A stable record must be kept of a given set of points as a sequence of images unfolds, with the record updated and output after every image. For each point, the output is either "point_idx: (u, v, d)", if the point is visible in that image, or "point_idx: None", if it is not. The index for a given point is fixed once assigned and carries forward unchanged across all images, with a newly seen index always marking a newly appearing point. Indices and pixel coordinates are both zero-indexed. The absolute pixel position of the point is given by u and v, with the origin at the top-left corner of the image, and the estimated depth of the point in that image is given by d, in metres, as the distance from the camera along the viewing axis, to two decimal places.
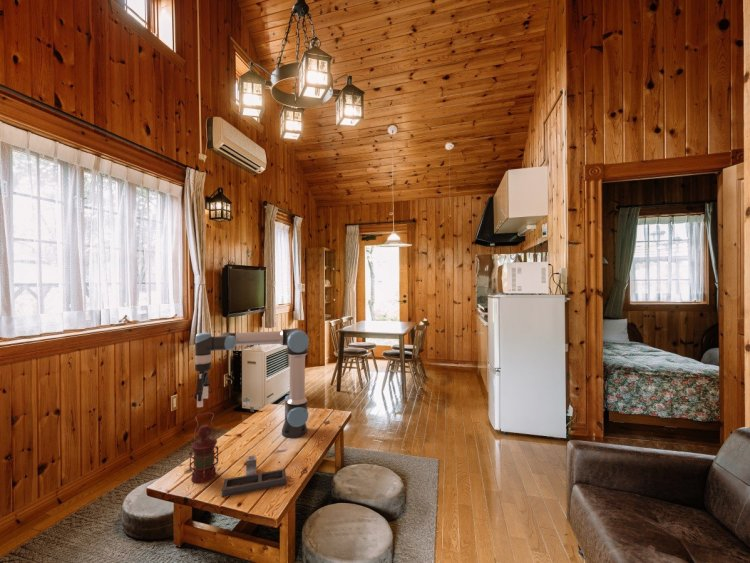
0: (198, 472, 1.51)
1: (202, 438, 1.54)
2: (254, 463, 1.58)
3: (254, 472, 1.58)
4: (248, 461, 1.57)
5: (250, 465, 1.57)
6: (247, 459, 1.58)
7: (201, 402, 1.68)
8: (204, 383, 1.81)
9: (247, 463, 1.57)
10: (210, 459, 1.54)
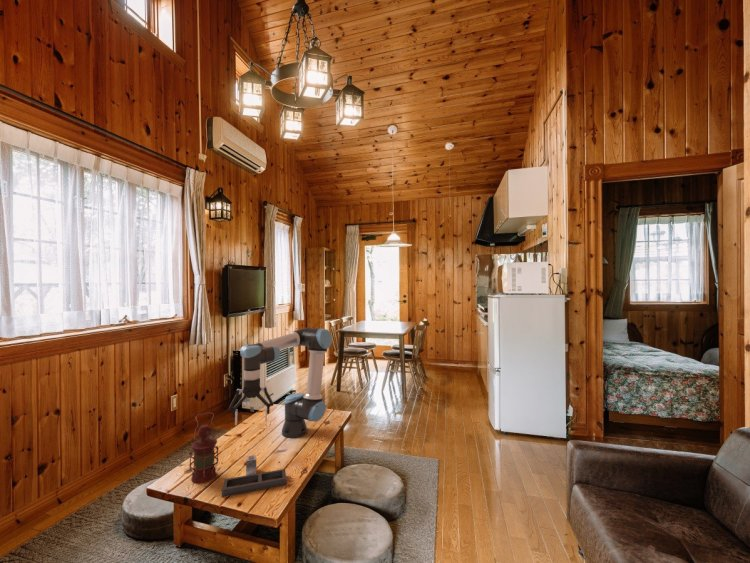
0: (198, 472, 1.51)
1: (202, 438, 1.54)
2: (254, 463, 1.58)
3: (254, 472, 1.58)
4: (248, 461, 1.57)
5: (250, 465, 1.57)
6: (247, 459, 1.58)
7: (235, 419, 1.57)
8: (264, 403, 1.62)
9: (247, 463, 1.57)
10: (210, 459, 1.54)
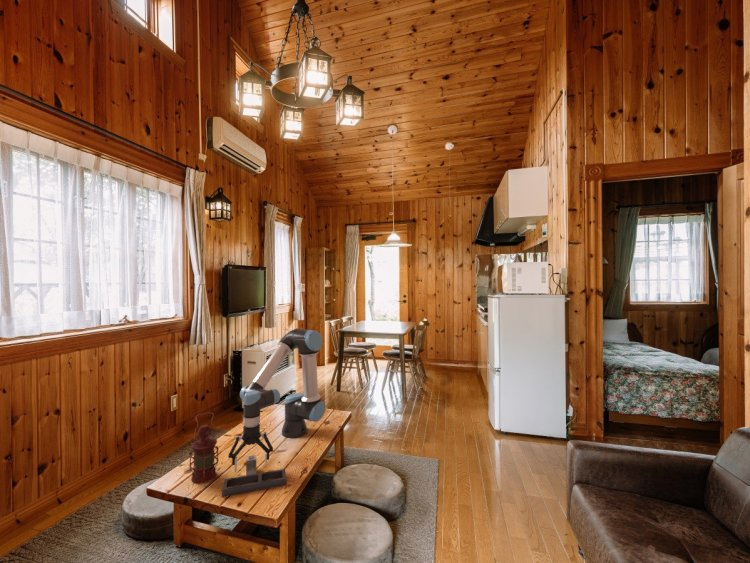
0: (198, 472, 1.51)
1: (202, 438, 1.54)
2: (254, 463, 1.58)
3: (254, 472, 1.58)
4: (248, 461, 1.57)
5: (250, 465, 1.57)
6: (247, 459, 1.58)
7: None
8: None
9: (247, 463, 1.57)
10: (210, 459, 1.54)
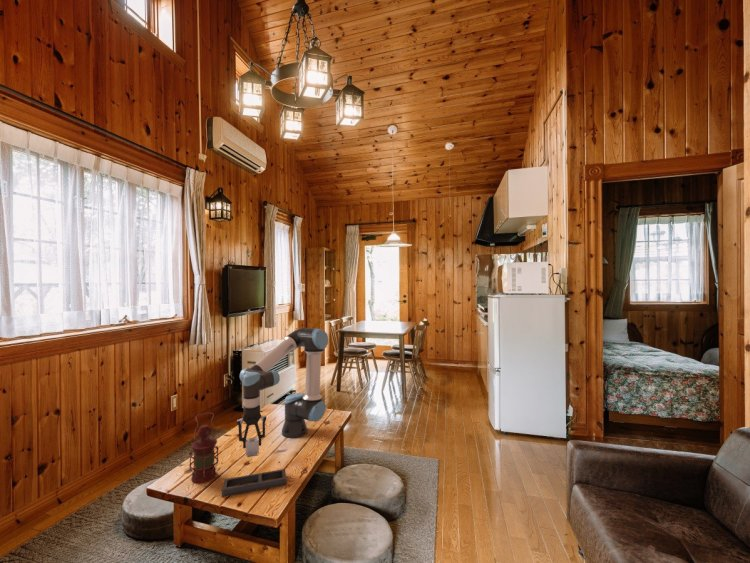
0: (198, 472, 1.51)
1: (202, 438, 1.54)
2: (255, 445, 1.58)
3: (255, 453, 1.58)
4: (249, 443, 1.57)
5: (251, 447, 1.58)
6: (248, 441, 1.58)
7: None
8: None
9: (248, 445, 1.57)
10: (210, 459, 1.54)
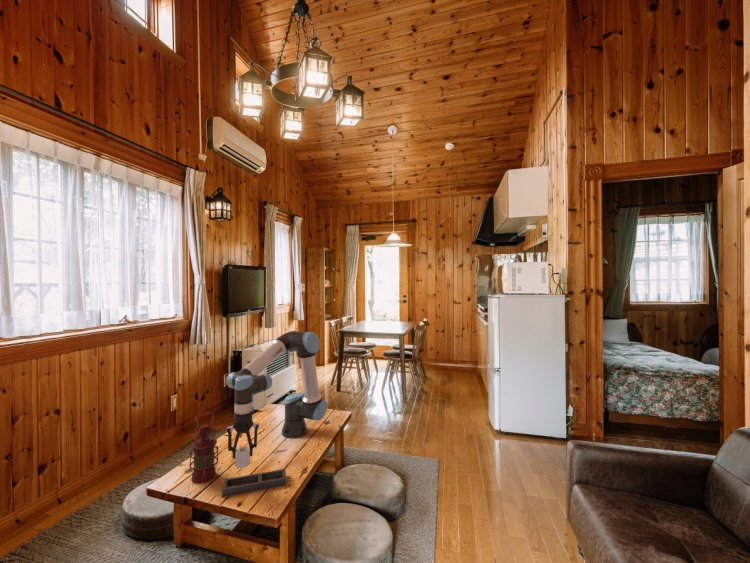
0: (198, 472, 1.51)
1: (202, 438, 1.54)
2: (245, 455, 1.45)
3: (245, 465, 1.45)
4: (239, 453, 1.45)
5: (241, 457, 1.45)
6: (238, 450, 1.46)
7: (235, 460, 1.45)
8: None
9: (238, 455, 1.44)
10: (210, 459, 1.54)
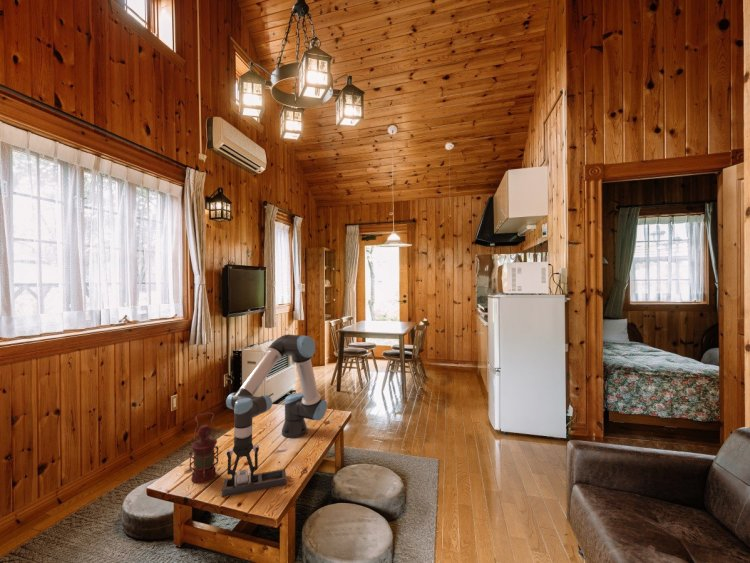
0: (198, 472, 1.51)
1: (202, 438, 1.54)
2: (246, 478, 1.45)
3: None
4: (239, 476, 1.45)
5: (241, 480, 1.45)
6: (238, 474, 1.45)
7: None
8: (249, 465, 1.48)
9: (238, 478, 1.44)
10: (210, 459, 1.54)
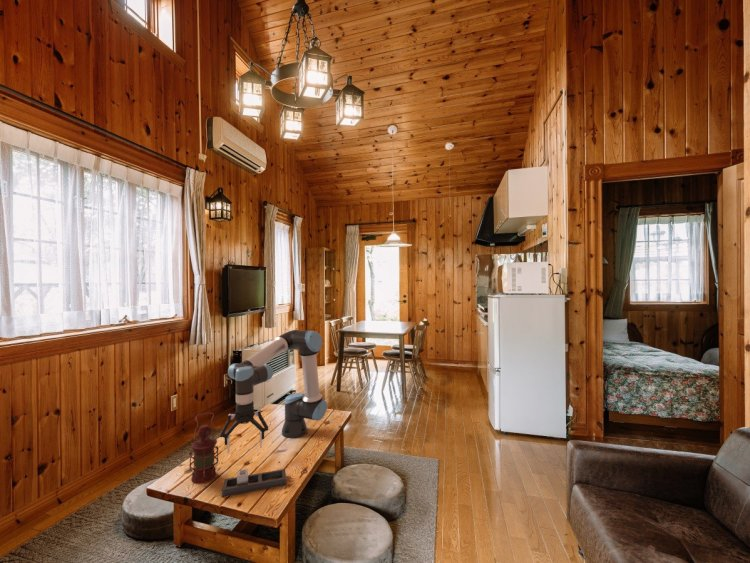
0: (198, 472, 1.51)
1: (202, 438, 1.54)
2: (246, 478, 1.45)
3: None
4: (239, 476, 1.45)
5: (241, 480, 1.45)
6: (238, 474, 1.45)
7: (227, 447, 1.46)
8: None
9: (238, 478, 1.44)
10: (210, 459, 1.54)
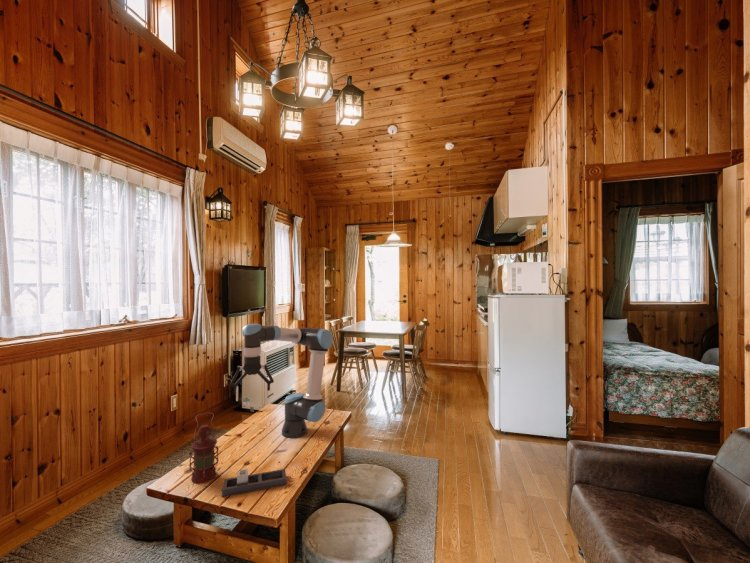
0: (198, 472, 1.51)
1: (202, 438, 1.54)
2: (246, 478, 1.45)
3: None
4: (239, 476, 1.45)
5: (241, 480, 1.45)
6: (238, 474, 1.45)
7: (236, 396, 1.59)
8: None
9: (238, 478, 1.44)
10: (210, 459, 1.54)
